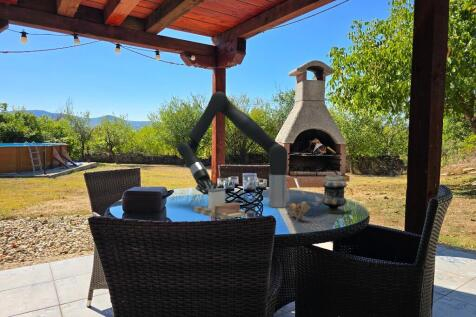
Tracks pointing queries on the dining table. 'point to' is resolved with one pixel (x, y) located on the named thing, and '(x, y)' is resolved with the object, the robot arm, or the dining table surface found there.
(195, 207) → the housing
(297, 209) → the lion figurine
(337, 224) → the dining table surface
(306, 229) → the dining table surface
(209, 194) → the pale grey rectangular block
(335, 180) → the apothecary jar
